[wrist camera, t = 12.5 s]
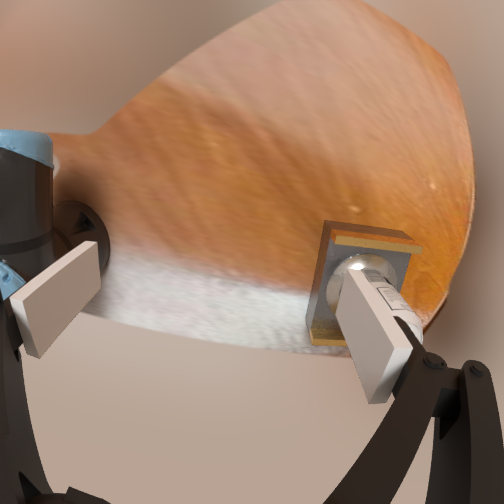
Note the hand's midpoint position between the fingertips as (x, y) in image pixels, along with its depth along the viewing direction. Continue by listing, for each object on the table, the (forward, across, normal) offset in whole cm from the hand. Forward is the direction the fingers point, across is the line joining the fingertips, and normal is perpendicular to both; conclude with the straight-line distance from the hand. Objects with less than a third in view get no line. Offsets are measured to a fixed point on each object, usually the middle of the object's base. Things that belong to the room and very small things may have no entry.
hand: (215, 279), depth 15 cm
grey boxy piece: (+33, +20, -13) cm, 40 cm away
